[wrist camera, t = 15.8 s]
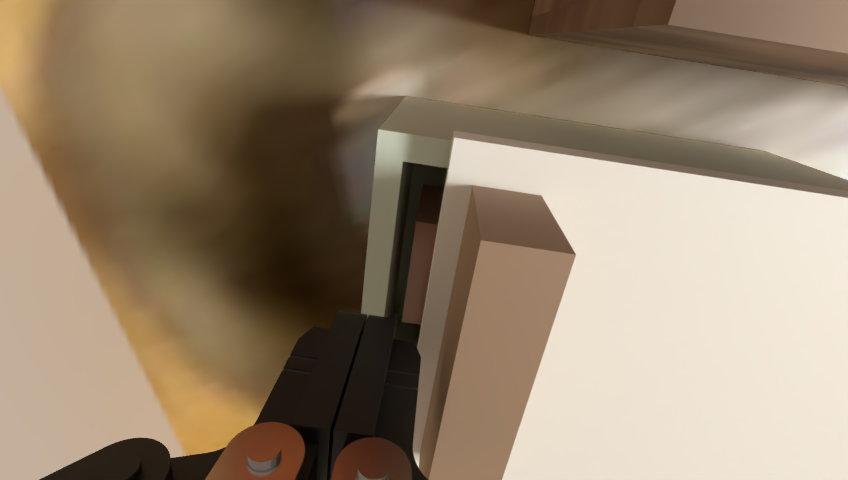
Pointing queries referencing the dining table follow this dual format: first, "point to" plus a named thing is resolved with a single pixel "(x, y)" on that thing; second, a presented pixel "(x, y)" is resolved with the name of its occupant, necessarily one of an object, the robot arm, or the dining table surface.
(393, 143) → the box
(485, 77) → the dining table surface
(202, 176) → the dining table surface
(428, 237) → the block terracotta
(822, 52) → the cover
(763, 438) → the lid
